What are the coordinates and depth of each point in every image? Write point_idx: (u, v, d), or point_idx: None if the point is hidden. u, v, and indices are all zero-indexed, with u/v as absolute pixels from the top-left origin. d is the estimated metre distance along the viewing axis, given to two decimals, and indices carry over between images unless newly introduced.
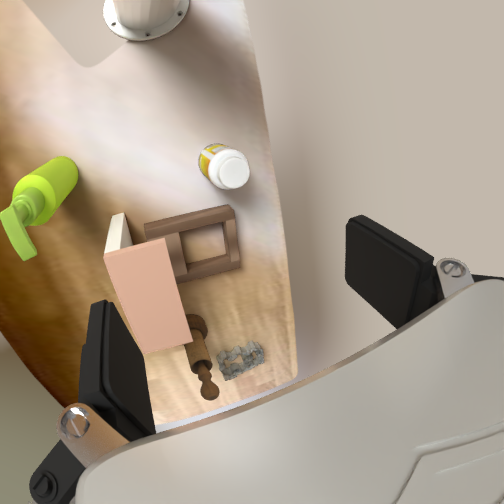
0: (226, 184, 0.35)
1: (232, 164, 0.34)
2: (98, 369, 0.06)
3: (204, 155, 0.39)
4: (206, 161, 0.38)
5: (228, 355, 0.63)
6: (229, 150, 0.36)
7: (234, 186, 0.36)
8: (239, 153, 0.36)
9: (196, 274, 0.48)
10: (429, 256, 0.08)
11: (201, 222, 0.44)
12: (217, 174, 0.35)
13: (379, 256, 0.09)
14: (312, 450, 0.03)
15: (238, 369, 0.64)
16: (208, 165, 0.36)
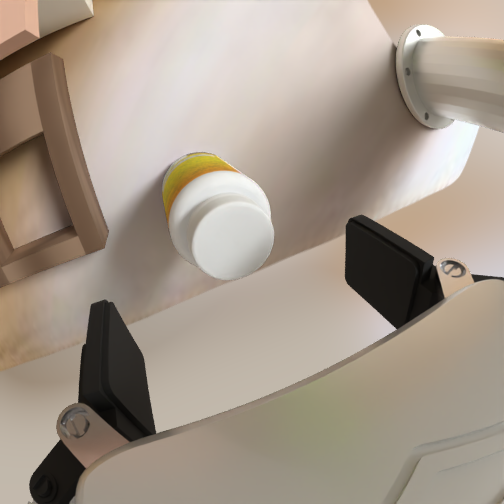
0: (203, 227, 0.12)
1: (259, 232, 0.13)
2: (98, 369, 0.06)
3: (224, 161, 0.18)
4: (225, 165, 0.16)
5: None
6: (270, 215, 0.16)
7: (198, 250, 0.13)
8: None
9: None
10: (429, 255, 0.08)
11: (67, 180, 0.15)
12: (221, 196, 0.13)
13: (379, 256, 0.09)
14: (312, 450, 0.03)
15: None
16: (227, 170, 0.14)
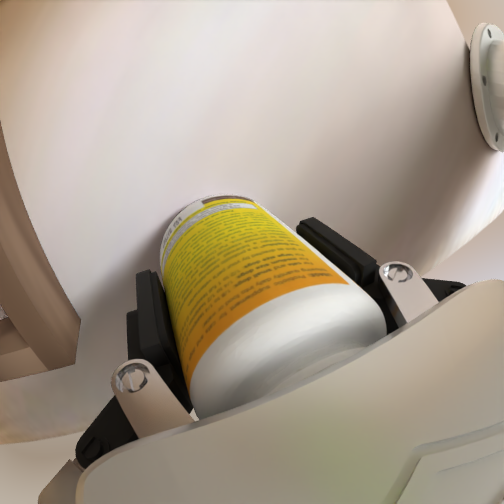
0: None
1: None
2: (154, 326, 0.07)
3: (278, 222, 0.10)
4: (299, 249, 0.08)
5: None
6: None
7: None
8: None
9: None
10: (371, 259, 0.08)
11: None
12: None
13: None
14: (312, 450, 0.03)
15: None
16: (322, 279, 0.06)
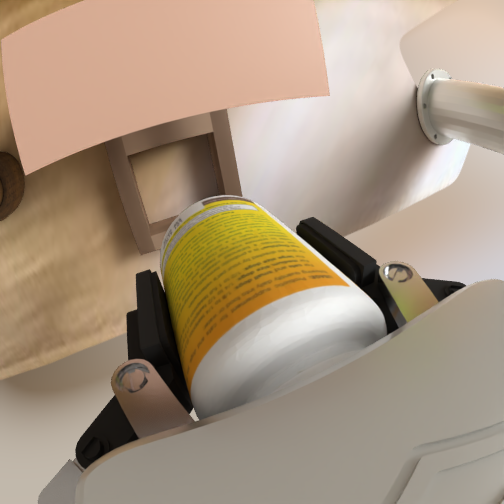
0: None
1: None
2: (154, 326, 0.07)
3: (278, 223, 0.10)
4: (300, 250, 0.08)
5: None
6: None
7: None
8: None
9: (124, 173, 0.22)
10: (371, 259, 0.08)
11: (228, 170, 0.25)
12: None
13: None
14: (312, 450, 0.03)
15: None
16: (323, 281, 0.06)
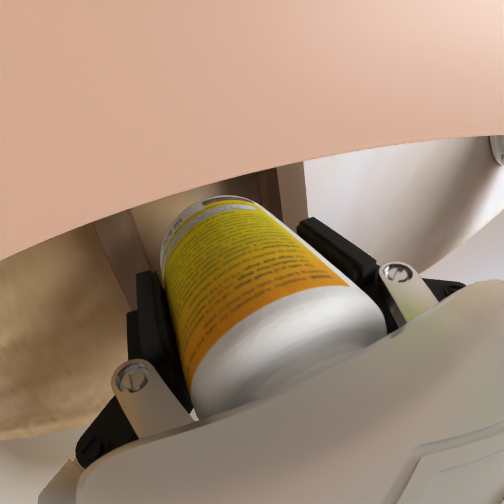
0: None
1: None
2: (154, 326, 0.07)
3: (278, 223, 0.10)
4: (300, 250, 0.08)
5: None
6: None
7: None
8: None
9: (113, 222, 0.12)
10: (371, 259, 0.08)
11: (293, 213, 0.15)
12: None
13: None
14: (312, 450, 0.03)
15: None
16: (323, 281, 0.06)
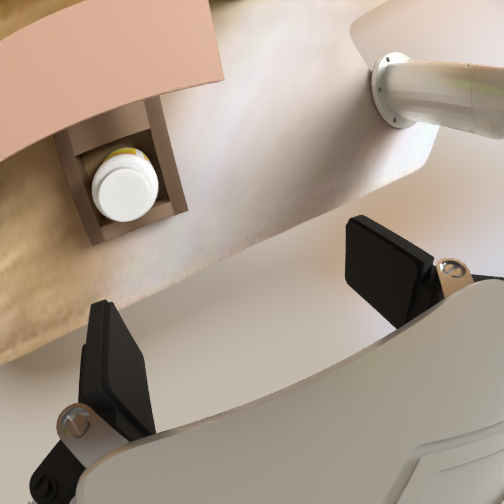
0: (103, 186, 0.18)
1: (138, 187, 0.19)
2: (98, 369, 0.06)
3: (135, 150, 0.24)
4: (130, 151, 0.22)
5: None
6: (156, 181, 0.22)
7: (102, 200, 0.18)
8: (153, 198, 0.22)
9: (74, 172, 0.23)
10: (428, 255, 0.08)
11: (166, 163, 0.26)
12: (117, 168, 0.19)
13: (379, 256, 0.09)
14: (312, 450, 0.03)
15: None
16: (127, 153, 0.20)
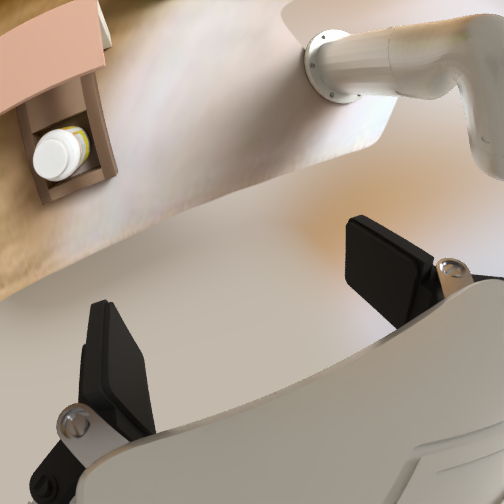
0: (36, 152, 0.21)
1: (59, 152, 0.22)
2: (98, 369, 0.06)
3: (74, 128, 0.26)
4: (65, 128, 0.24)
5: None
6: (77, 149, 0.24)
7: (35, 163, 0.21)
8: (75, 162, 0.24)
9: (30, 145, 0.25)
10: (429, 256, 0.08)
11: (98, 137, 0.28)
12: (47, 139, 0.21)
13: (379, 256, 0.09)
14: (312, 450, 0.03)
15: None
16: (59, 129, 0.23)
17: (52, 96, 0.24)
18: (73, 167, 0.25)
